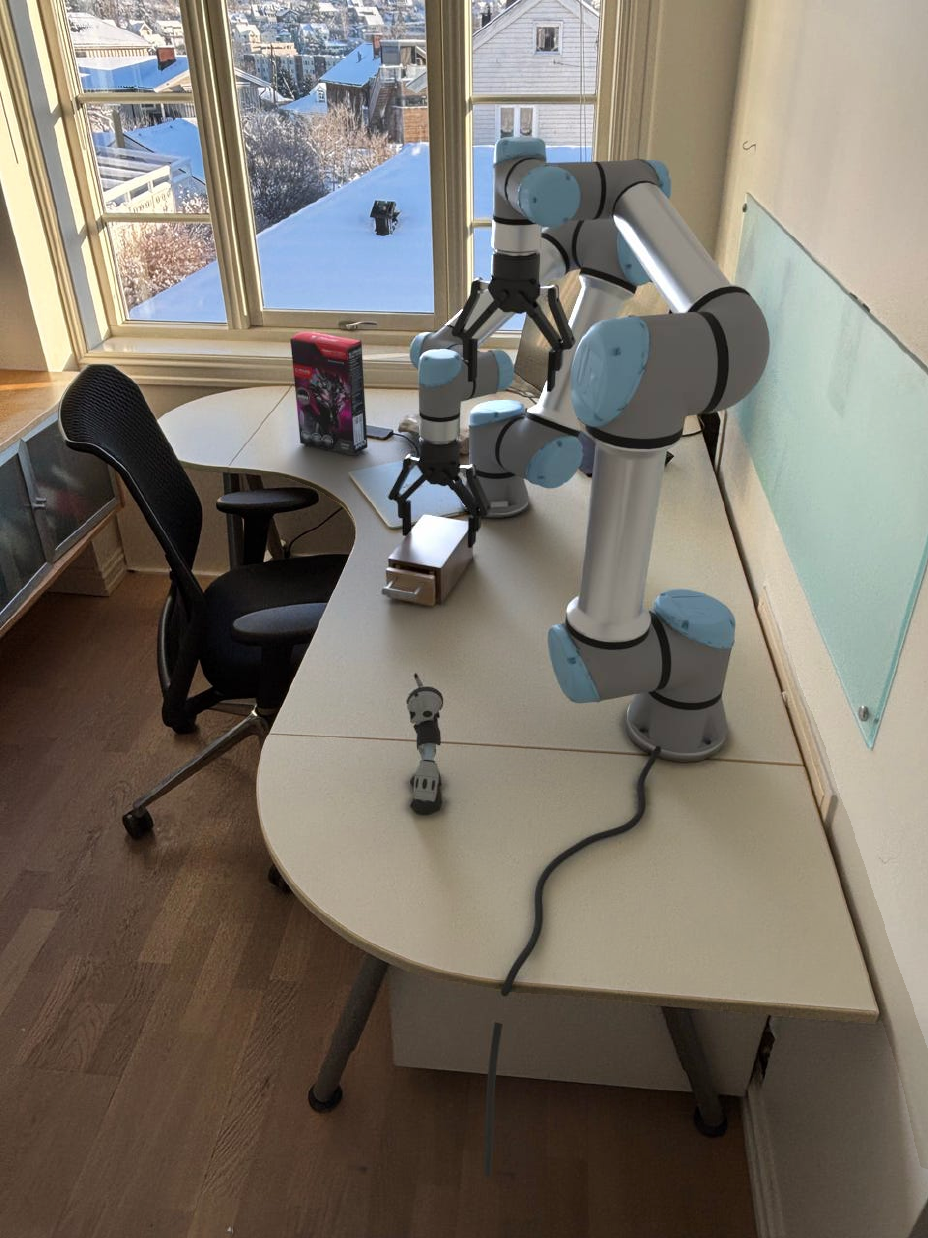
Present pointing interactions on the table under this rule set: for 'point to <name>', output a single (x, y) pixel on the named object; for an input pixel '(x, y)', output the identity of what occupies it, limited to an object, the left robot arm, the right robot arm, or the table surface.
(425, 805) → the robot
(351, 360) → the graphics card box
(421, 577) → the drawer
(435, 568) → the cabinet
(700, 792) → the table surface
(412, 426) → the stone
